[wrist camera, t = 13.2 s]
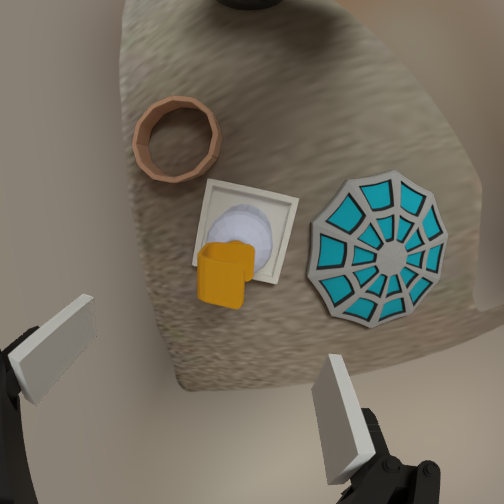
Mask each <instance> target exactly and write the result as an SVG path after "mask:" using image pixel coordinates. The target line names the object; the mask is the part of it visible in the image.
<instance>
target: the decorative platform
mask: <svg viewBox="0 0 504 504" xmlns="http://www.w3.org/2000/svg"><path fill="white" fill-rule="evenodd" d="M447 239H448V233H447V231H446V229H445V227H444V224H443V222H442V219H441V217H440V214H439V211H438V208H437V205H436V201H435V198H434V195H433V193H431V192H429V191H427V190H425V189H423V188H421V187H419V186H418V185H416V184H414V183H413V182H411V181H410V180H408V179H407V178H405V177H404V176H403V175H401V174H400V173H398V172H397V171H396V170H391V171H388V172H385V173H382V174H378V175H375V176H371V177H365V178H359V179H350V180H345V181H344V183H343V184H342V186H341V187H340V189H339V190H338V192H337V193H336V195H335V196H334V197H333V199H332V200H331V201H330V202H329V203H328V205H327V206H326V207H325V208H324V209H323V210H322V211H321V212H320V213H319V214H318V215H317V216H316V217H315V218H314V219H313V220H312V221H311V249H310V257H309V262H308V267H307V272H306V275H307V277H308V278H309V280H310V281H311V282H312V283H313V285H314V286H315V287H316V289H317V290H318V291H319V293H320V295H321V296H322V298H323V300H324V301H325V303H326V305H327V307H328V310H329V312H330V314H331V316H334V317H339V318H344V319H348V320H351V321H354V322H357V323H360V324H362V325H365V326H367V327H369V328H373V327H375V326H378V325H380V324H383V323H385V322H388V321H390V320H393V319H396V318H399V317H403V316H406V315H410V314H412V312H413V311H414V310H415V308H416V307H417V306H418V304H419V303H420V302H421V301H422V299H423V298H424V297H425V296H426V295H427V293H428V292H429V291H430V290H431V289H432V288H433V287H434V286H435V285H436V283H437V282H438V281H439V280H440V274H441V268H442V262H443V257H444V252H445V248H446V243H447Z"/></svg>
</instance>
